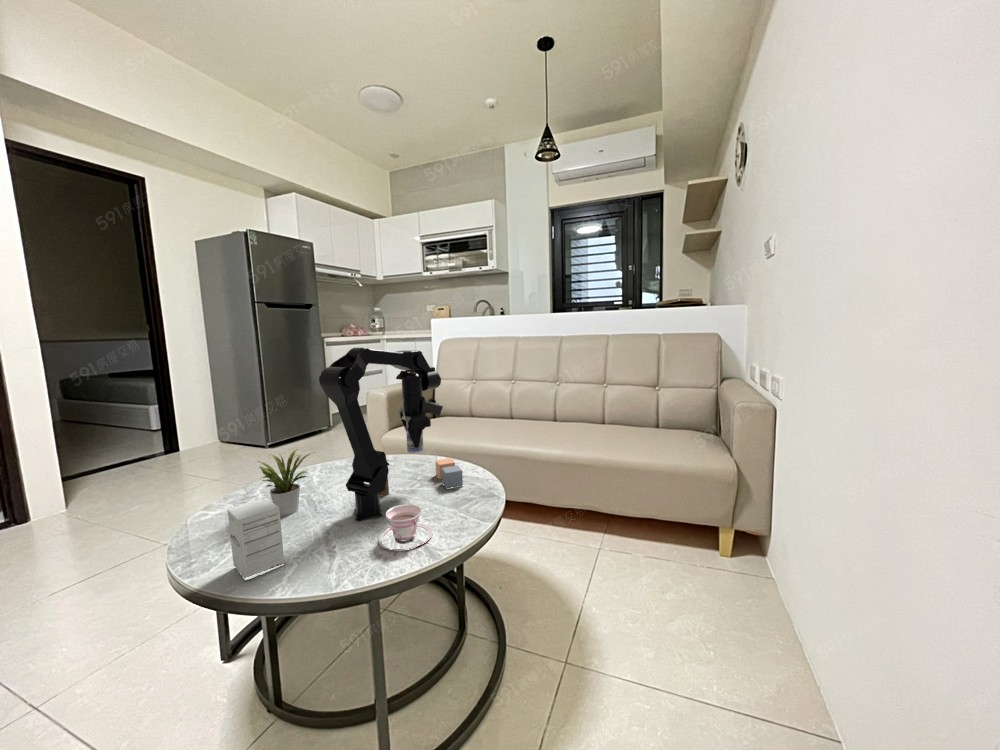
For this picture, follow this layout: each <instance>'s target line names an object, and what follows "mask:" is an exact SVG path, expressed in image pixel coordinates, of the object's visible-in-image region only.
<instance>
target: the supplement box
mask: <svg viewBox="0 0 1000 750" xmlns="http://www.w3.org/2000/svg"><path fill="white" fill-rule="evenodd" d="M227 516H228V526H229V527H228V528H229V535H230V545H231V553H232V561H233V567H234V566H235V567H236V569H237V570H238V571H239V572H240V573H241V575H242V576H243V577H244V578H246V577H249V576H252V575H254V574H257V573H260V572H262V571H266V570H268V569H271V568H274V567H276V566H279V565H282V564H284V563H285V555H284V544H283V543H284V542H283V534H282V533H283V532H282V522H281V521H282V519H281V516H280V511H279V507H278V506H277V505H275V504H274V503H273V501H272V500H271V499H269V497H268V498H267V497H265V498H261V499H257V500H253V501H250V502H247V503H243V504H241V505H238V506H233V507H230V508H228V509H227ZM236 569H235V570H236ZM237 570H236V571H237ZM238 571H237V572H238ZM239 572H238V573H239ZM241 575H240V576H241Z"/></svg>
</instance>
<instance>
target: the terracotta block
mask: <svg viewBox="0 0 1000 750" xmlns="http://www.w3.org/2000/svg"><path fill="white" fill-rule="evenodd" d="M455 464H456V463H455V461H454V460H453V459H452V458H451V457H449V458H448V457H447V458H442V459H436V460H435V475H436V477H437V476H438V477H439V478H438V477H437V478H438V479H439V481H442V480H441V479H442V468H444V467H451V466H456V465H455Z"/></svg>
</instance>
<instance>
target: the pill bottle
mask: <svg viewBox="0 0 1000 750" xmlns="http://www.w3.org/2000/svg"><path fill="white" fill-rule="evenodd" d="M423 431H424V430H423ZM423 431H422V434H421V439H420V444H419V447H418V448H415V447H414V445H413V442H412V440H411V438H410V435H409V433H408V431H407V432H406V431H405V434H406V448H407V453H409V454H420V453H422V452H423V451H424V432H423Z"/></svg>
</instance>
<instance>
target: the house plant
mask: <svg viewBox="0 0 1000 750" xmlns="http://www.w3.org/2000/svg"><path fill="white" fill-rule="evenodd" d="M297 451H298V448H297V449H295V450H293V451H291V453H290V455H289V457H288V459H287V461H286V462H287V463H286V465H285V460H284V458H283V456H282V455H281V454H279V455H280V458H281V459H280V458H279V457H278V456H275V455H274V454H270V453H269V456H271V457H272V458H273V459H274V460H275V462H276V464H277V468H278V469H279V472H280V475H281V476H279V474H278V473H277V472H276V470H275V469H274V468H273V467H272V466H270V465H269V464H267V463H266V462H263V461H259V460H256V462H257V463H260V464H262V465H264V466H259V467H258V468H259V469H260V470H261V471H262V474H263V475H264V476H262V477H261V478H260V480H261V482H269V483H273V485H272V484H268V485H266V486H265V488H269V487H272V488H271V489H270V490H269V495H270V497H271V502H273V503H274V504H275V505H277V506H278V507H279V511H280V517H281V516H289V515H292V514H294V513H296V512H297V511H298V510H299V504H300V493H301V491H300V490H301V485H300V484H298V483H295V482H296V481H298V480H300V479H304V478H307V476H306V475H303V474H309V472H308V471H306V470H303V471H300V472H299V473H298V474H297V475H296V476H295V477H294V475H295V472H296V470H297V469H298V468H299V466H300V465H301V464H302V462H303V461H304V459H306V458H307V457H308V456H310V455H312V454H316V453H317V451H316V452H311V453H307V454H306V455H304V456H302V454H296V452H297ZM301 456H302V457H301ZM295 457H296V459H295V460H294V458H295ZM293 460H294V463H292V462H293ZM292 464H293V467H292V469H291V466H292ZM262 478H264V479H262ZM265 478H267V479H265ZM265 488H264V489H265Z"/></svg>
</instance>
